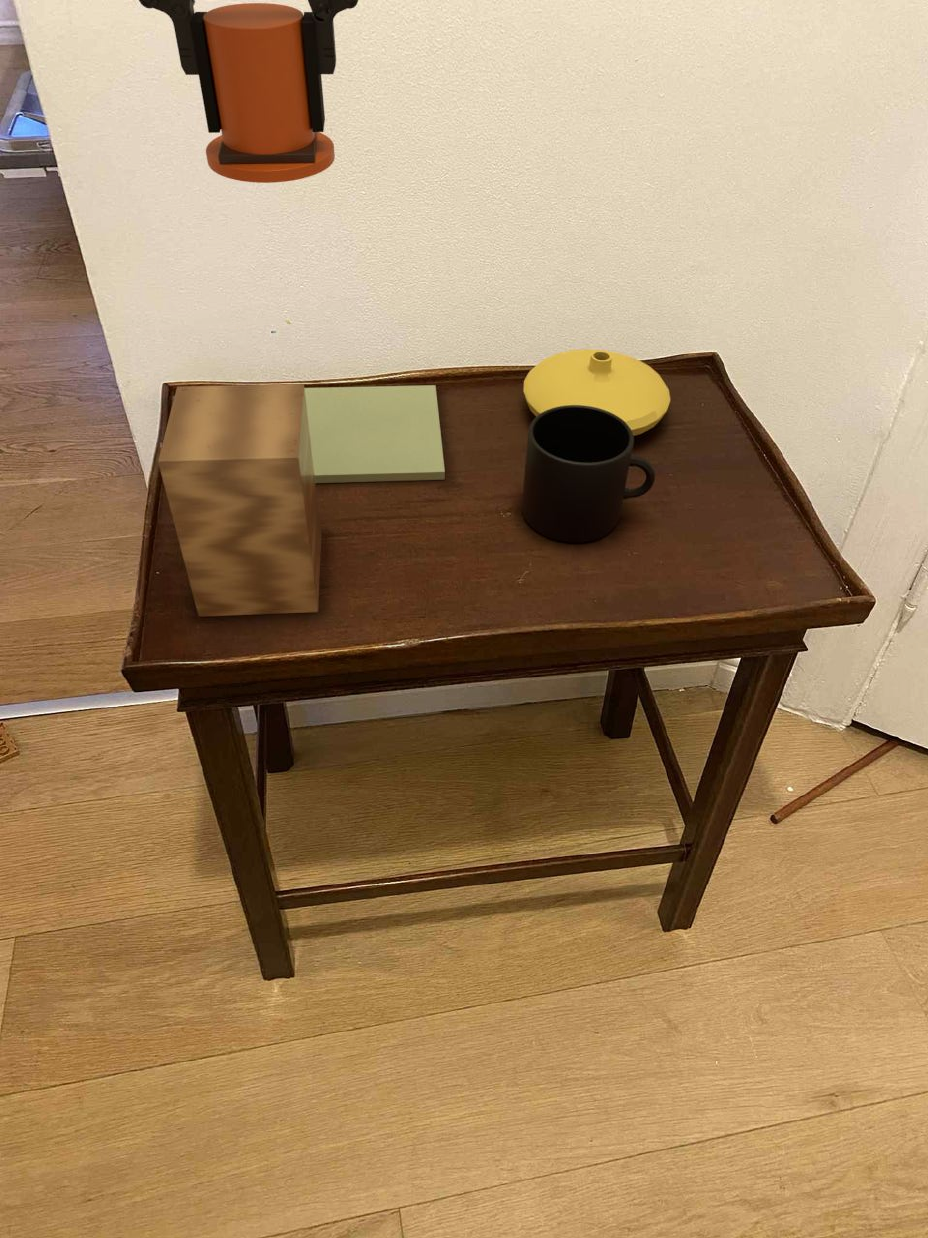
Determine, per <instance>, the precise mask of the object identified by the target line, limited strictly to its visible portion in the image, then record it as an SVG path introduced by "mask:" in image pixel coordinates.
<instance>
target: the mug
mask: <svg viewBox="0 0 928 1238" xmlns="http://www.w3.org/2000/svg"><path fill="white" fill-rule="evenodd" d="M527 431H528V432H527V443H526V453H525V464H524V475H523V486H522V496H521V497H522V499H521V511H522V515H523V516H524V519H525V521H526V522H527V523H528V525H529V526H530V527H531V528H532V529H533V530H534V531H536V532H537V533H539V534H541V535H542V536H545V537H547V538H549V539H551V540H555V541H559V542H564V543H573V544H574V543H587V542H592V541H596V540H599V539H601V538H603V537H605V536H607V535H608V534H610V533H611V532H612V531H613V529H614V528H615V527H616V526H617V525H618V523H619V520H620V517H621V513H622V512H621V511H622V506H623V501H624V500H628V499H635V498H638V497H641V496H644V495H645V494H647V493H648V492H649V491H650V490H651V489H652V488H653V486H654V484H655V480H656V471H655V468H654V466H653V464H652V463H651V462H650V461H649V460H647V459H646V458H644V457H641V456H637V455H635V454H633V448H634V441H635V437H634V436H633V433H632V431H631V429H630V427H629V426H628V425H627V424H626V423H625V422H624V421H623V420H622V419H621V418H619V417H618V416H616V415H614V414H613V413H610V412H608V411H605V410H603V409H599V408H595V407H590V406H583V405H566V406H560V407H555V408H552V409H549V410H546V411H544V412H542V413H541V414H539V415H538V416H537V417H536V416H535V417H534V419H533V420H531V422H530V425H529V427H528V430H527ZM630 467H632V468H633V467H636V468H639V469H641V470H642V471H643V472H644V474H645V480H644V482H643V483H642V484H641V485H640V486H637V487H635V488H628V487H626V485H627V481H628V475H629V469H630Z"/></svg>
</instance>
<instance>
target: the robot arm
mask: <svg viewBox="0 0 928 1238" xmlns="http://www.w3.org/2000/svg"><path fill="white" fill-rule="evenodd" d="M138 2H139V3H140V5H141V6H143V7H144V8H146V9H149V10H150V9H154V10H158V11H160V12H163V13H164V14H166V15H167V16H168V17H169V19H170V20H171V21H172V24H173V29H174V34H175V39H176V45H177V50H178V51H177V52H178V57H179V62H180V67H181V69H182V70H183V73H184V75H186V76H198V79H199V85H200V90H201V97H202V102H203V108H204V113H205V121H206V126H207V131H208V133H209V134H212V133H213V134H218V133H221V125H220V119H219V113H218V107H217V101H216V95H215V88H214V82H213V76H212V70H211V64H210V58H209V52H208V45H207V39H206V33H205V27H204V21H203V16H204V14H205V13H207V12H208V11H195V7H194V6H195V3H196V0H138ZM307 2H308V5H309V7H310V10H311V11H304V12H303V20H302V29H303V39H304V50H305V60H306V70H307V81H308V91H309V101H310V112H311V122H312V132H320V133H324V131H325V130H324V129H325V121H326V116H325V105H324V104H325V103H324V93H323V80H322V75H334V74H335V70H336V67H337V51H336V38H335V24H334V19H335V17H336V16H337V14H340V13H341V12H343V11H346V10H347V9H349V10H351V9H354V8H355V7H356V6H357V5H358V3H359V0H307Z"/></svg>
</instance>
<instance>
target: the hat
mask: <svg viewBox="0 0 928 1238" xmlns="http://www.w3.org/2000/svg"><path fill="white" fill-rule="evenodd" d="M206 12H207V13H205V14H204V16H203V21H204V27H205V33H206V39H207V45H208V52H209V58H210V64H211V70H212V76H213V82H214V88H215V95H216V101H217V107H218V113H219V119H220V125H221V130H220V133H221V135H219V136H217V137H215V138H213V139H212V140H211V141H210V142H209V143H208V144H207V145H206V148H205V155H206V161H207V165H208V167H209V169H211V171H212V172H214V173H216V174H217V175H219V176H222V177H224V178H227V179H230V180H233V181H238V182H239V181H240V182H247V183H257V184H258V183H259V184H272V183H273V184H275V183H285V182H293V181H297V180H302V179H306V178H309V177H312V176H316V175H318V174H320V173H322V172H324V171H326V170H327V169H329V168H330V167H331V166H332V165H333V164H334V162H335V157H336V155H335V154H336V153H335V145H334V144H335V143H334V142H333V140H332V139H331V138H330V137H329V136H327V135H326V134H324V133H323V132H312V122H311V112H310V101H309V91H308V81H307V70H306V60H305V50H304V39H303V29H302V20H303V15H304V12H302V11H301V10H300V9H298V8H295V7H293V6H289V5H285V4H277V3H267V2H249V3H247V2H246V3H245V2H244V3H236V4H235V3H234V4H229V5H228V4H227V5H223V6H218V7H216V8H212V9H210V10H208V11H206Z"/></svg>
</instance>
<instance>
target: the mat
mask: <svg viewBox="0 0 928 1238" xmlns="http://www.w3.org/2000/svg"><path fill="white" fill-rule="evenodd" d="M304 388H305V397H306V406H307V414H308V423H309V432H310V441H311V450H312V458H313V467H314V476H315V484H336V483H371V482H372V483H373V482H405V481H406V482H407V481H409V482H410V481H441V480H443V481H444V480H445V479H446V468H445V459H444V450H443V441H442V432H441V424H440V423H441V422H440V414H439V405H438V404H439V403H438V396H437V386H436V384H430V385H429V384H428V385H427V384H426V385H425V384H424V385H384V386H383V385H382V386H381V385H380V386H378V385H377V386H375V385H374V386H336V387H335V386H334V387H329V386H327V387H304Z"/></svg>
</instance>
